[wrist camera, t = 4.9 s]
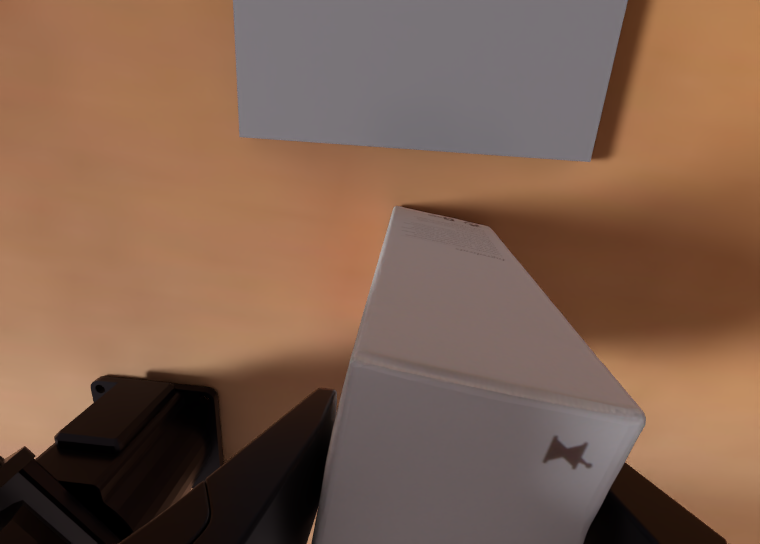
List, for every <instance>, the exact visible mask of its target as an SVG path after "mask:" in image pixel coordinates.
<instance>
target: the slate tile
mask: <svg viewBox="0 0 760 544" xmlns="http://www.w3.org/2000/svg"><path fill="white" fill-rule="evenodd" d="M627 2H628V0H233V9H234V30H235V51H236V71H237V92H238V113H239V134H240V137H247V138H261V139H275V140H289V141H303V142H317V143H331V144H345V145H359V146H374V147H388V148H402V149H416V150H430V151H444V152H458V153H472V154H486V155H500V156H514V157H529V158H543V159H557V160H571V161H585V162H590V161H591V156H592V152H593V148H594V144H595V139H596V135H597V131H598V126H599V122H600V118H601V113H602V109H603V105H604V101H605V96H606V92H607V88H608V83H609V79H610V75H611V70H612V66H613V62H614V58H615V53H616V49H617V45H618V40H619V36H620V32H621V27H622V23H623V19H624V15H625V10H626V6H627Z"/></svg>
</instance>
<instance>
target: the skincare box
mask: <svg viewBox="0 0 760 544" xmlns="http://www.w3.org/2000/svg"><path fill="white" fill-rule="evenodd" d="M645 423H646V417H645V415H644V412H643V411H642V410H641V408H640V407H639V406H638V405H637V403H636V402H635V401H634V400H633V399H632V398H631V396H630V395H629V394H628V393H627V392H626V391H625V389H624V388H623V387H622V386H621V385H620V383H619V382H618V381H617V380H616V379H615V377H614V376H613V375H612V374H611V373H610V371H609V370H608V369H607V368H606V366H605V365H604V364H603V363H602V362H601V361H600V360H599V359H598V358H597V356H596V355H595V354H594V352H593V351H592V350H591V349H590V347H589V346H588V345H587V344H586V343H585V341H584V340H583V339H582V338H581V336H580V335H579V334H578V333H577V332H576V331H575V329H574V328H573V327H572V326H571V324H570V323H569V322H568V321H567V319H566V318H565V317H564V316H563V315H562V313H561V312H560V311H559V310H558V309H557V307H556V306H555V305H554V304H553V303H552V302H551V300H550V299H549V298H548V297H547V295H546V294H545V293H544V292H543V291H542V289H541V288H540V287H539V286H538V284H537V283H536V282H535V281H534V279H533V278H532V277H531V276H530V275H529V273H528V272H527V271H526V270H525V269H524V267H523V266H522V265H521V264H520V263H519V261H518V260H517V259H516V258H515V257H514V255H513V254H512V253H511V252H510V251H509V249H508V248H507V247H506V246H505V244H504V243H503V242H502V241H501V240H500V238H499V237H498V236H497V235H496V234H495V232H494V231H493V230H492V229H491V228H490V227H489V226H485V225H480V224H476V223H472V222H467V221H463V220H459V219H455V218H451V217H446V216H441V215H436V214H431V213H427V212H422V211H418V210H413V209H409V208H405V207H401V206H395V207H394V208H393V211H392V215H391V218H390V222H389V226H388V229H387V233H386V236H385V239H384V243H383V246H382V250H381V253H380V257H379V260H378V264H377V267H376V271H375V274H374V278H373V281H372V285H371V288H370V292H369V295H368V299H367V302H366V305H365V309H364V312H363V316H362V320H361V323H360V327H359V331H358V334H357V338H356V342H355V345H354V348H353V352H352V355H351V358H350V362H349V366H348V370H347V374H346V378H345V381H344V385H343V389H342V393H341V397H340V401H339V406H338V410H337V414H336V418H335V422H334V426H333V431H332V436H331V440H330V445H329V450H328V455H327V460H326V465H325V471H324V478H323V483H322V489H321V495H320V501H319V507H318V513H317V517H316V523H315V528H314V533H313V538H312V544H583V543H584V540H585V537H586V534H587V531H588V529H589V527H590V525H591V523H592V521H593V520H594V518H595V516H596V514H597V512H598V511H599V509H600V507H601V505H602V503H603V501H604V499H605V497H606V495H607V493H608V491H609V489H610V487H611V486H612V484H613V482H614V480H615V479H616V477H617V475H618V473H619V472H620V470H621V468H622V466H623V465H624V463H625V461H626V459H627V457H628V455H629V453H630V451H631V449H632V447H633V446H634V444H635V442H636V440H637V438H638V437H639V435H640V433H641V431H642V430H643V428H644V426H645Z"/></svg>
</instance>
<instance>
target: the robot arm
mask: <svg viewBox="0 0 760 544" xmlns="http://www.w3.org/2000/svg"><path fill="white" fill-rule="evenodd" d="M91 392H92V396H93V401H94V403H93V404H92V405H91V406H90V407H88V408H87V409H86V410H85V411H83V412H82V413H81V414H80V415H79V416H77V417H76V418H75V419H74V420H73V421H71V422H70V423H69V424H68V425H67V426H65V427H64V428H63V429H62V430H61V431H59V432H58V433H57V434H56V436H55V437H54V438H55V443H54V444H53V445H52V446H50V447H49V448H48V449H47V450H46V451H45V452H43V453H42V454H41V455H40V456H39V457H38V458H36V459H34V457H35V455H34V454H33V453H32V452H31V451H30V450H29V449H28V448H27V447H26V446H24V447H23V448H21V449H20V450H18V451H17V452H15V453H14V454H12V455H10V456H9V457H7V458H6V459H4V458H2V457H1V456H0V544H307V541H308V537H309V534H310V531H311V528H312V525H313V522H314V519H315V516H316V512H317V509H318V506H319V501H320V495H321V489H322V483H323V478H324V471H325V465H326V460H327V455H328V450H329V445H330V440H331V436H332V431H333V426H334V422H335V418H336V405H337V392H336V390H334V389H326V388H318V389H317V390H315V391H314V392H313V393H312V394H310V395H309V396H308V397H307V398H305V399H304V400H303V401H302V402H300V403H299V404H298V405H297V406H295V407H294V408H293V409H292V410H290V411H289V412H288V413H287V414H285V415H284V416H283V417H282V418H280V419H279V420H278V421H277V422H276V423H274V424H273V425H272V426H271V427H269V428H268V429H267V430H266V431H264V432H263V433H262V434H261V435H259V436H258V437H257V438H256V439H254V440H253V441H252V442H251V443H249V444H248V445H247V446H246V447H244V448H243V449H242V450H241V451H239V452H238V453H237V454H236V455H234V456H233V457H232V458H231V459H229V460H228V461H227V462H226V463H223V451H222V438H221V426H220V414H219V402H218V394H217V392H216V391H215V390H214V389H212V388H210V387H203V386H193V385H184V384H174V383H166V382H156V381H147V380H137V379H128V378H117V377H107V376H101V377H99V378H98V379H96V380H95V381H94V382H92V384H91ZM204 396H206V397H208V398H209V399H206V398H205V397H204ZM191 488H193V489H192V490H191ZM190 490H191V491H190ZM583 544H727V542H726V540H725V539H724V538H723V537H722V536H720V535H719V534H718V533H716V532H715V531H714V530H712V529H711V528H710V527H709V526H707V525H706V524H705V523H703V522H702V521H701V520H699V519H698V518H697V517H696V516H694V515H693V514H692V513H690V512H689V511H688V510H686V509H685V508H684V507H682V506H681V505H680V504H679V503H677V502H676V501H675V500H673V499H672V498H671V497H669V496H668V495H667V494H666V493H664V492H663V491H662V490H660V489H659V488H658V487H656V486H655V485H654V484H653V483H651V482H650V481H649V480H647V479H646V478H645V477H643V476H642V475H641V474H639V473H638V472H637V471H636V470H634V469H633V468H632V467H630V466H629V465H628V464H626V463H624V465H623V466H622V468H621V470H620V472H619V473H618V475H617V477H616V479H615V480H614V482H613V484H612V486H611V487H610V489H609V491H608V493H607V495H606V497H605V499H604V501H603V503H602V505H601V507H600V509H599V511H598V512H597V514H596V516H595V518H594V520H593V521H592V523H591V525H590V527H589V529H588V531H587V534H586V537H585V540H584V543H583Z"/></svg>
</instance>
